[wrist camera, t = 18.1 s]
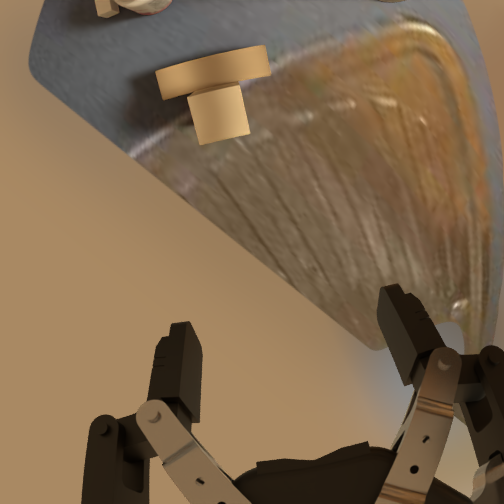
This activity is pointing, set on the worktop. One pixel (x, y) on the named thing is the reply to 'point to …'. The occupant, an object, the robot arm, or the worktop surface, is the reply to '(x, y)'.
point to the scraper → (215, 90)
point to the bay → (106, 8)
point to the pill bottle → (145, 5)
